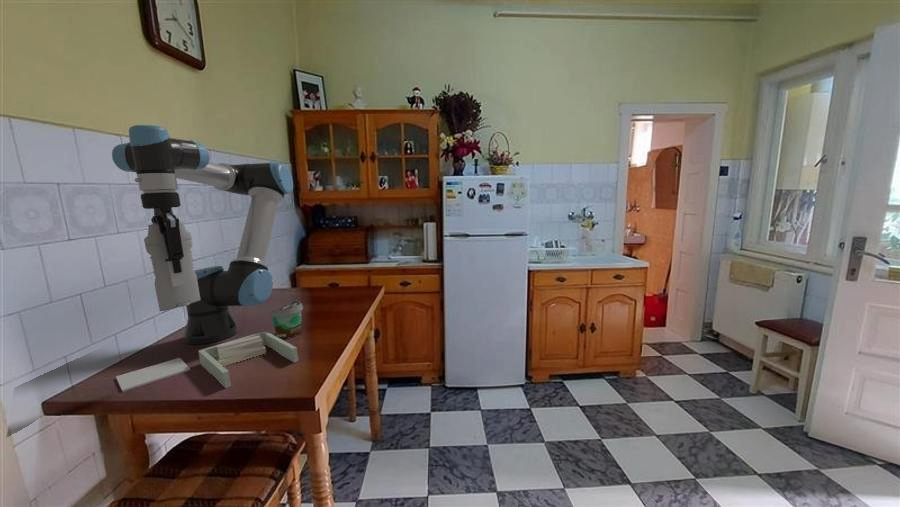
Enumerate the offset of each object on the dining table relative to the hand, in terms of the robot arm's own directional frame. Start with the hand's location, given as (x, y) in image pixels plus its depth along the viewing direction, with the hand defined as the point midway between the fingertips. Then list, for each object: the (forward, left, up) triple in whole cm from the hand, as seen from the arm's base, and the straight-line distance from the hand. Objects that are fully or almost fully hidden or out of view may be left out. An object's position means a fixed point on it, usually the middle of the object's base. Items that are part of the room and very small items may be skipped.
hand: (176, 284), depth 95 cm
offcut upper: (+1, +12, -22) cm, 25 cm away
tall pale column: (0, 0, -6) cm, 6 cm away
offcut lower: (+1, +12, -25) cm, 28 cm away
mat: (-7, -7, -24) cm, 26 cm away
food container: (-4, +30, -24) cm, 39 cm away
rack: (+7, +12, -24) cm, 28 cm away
